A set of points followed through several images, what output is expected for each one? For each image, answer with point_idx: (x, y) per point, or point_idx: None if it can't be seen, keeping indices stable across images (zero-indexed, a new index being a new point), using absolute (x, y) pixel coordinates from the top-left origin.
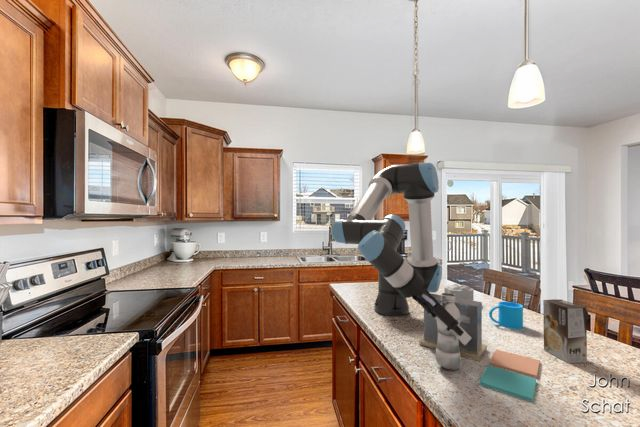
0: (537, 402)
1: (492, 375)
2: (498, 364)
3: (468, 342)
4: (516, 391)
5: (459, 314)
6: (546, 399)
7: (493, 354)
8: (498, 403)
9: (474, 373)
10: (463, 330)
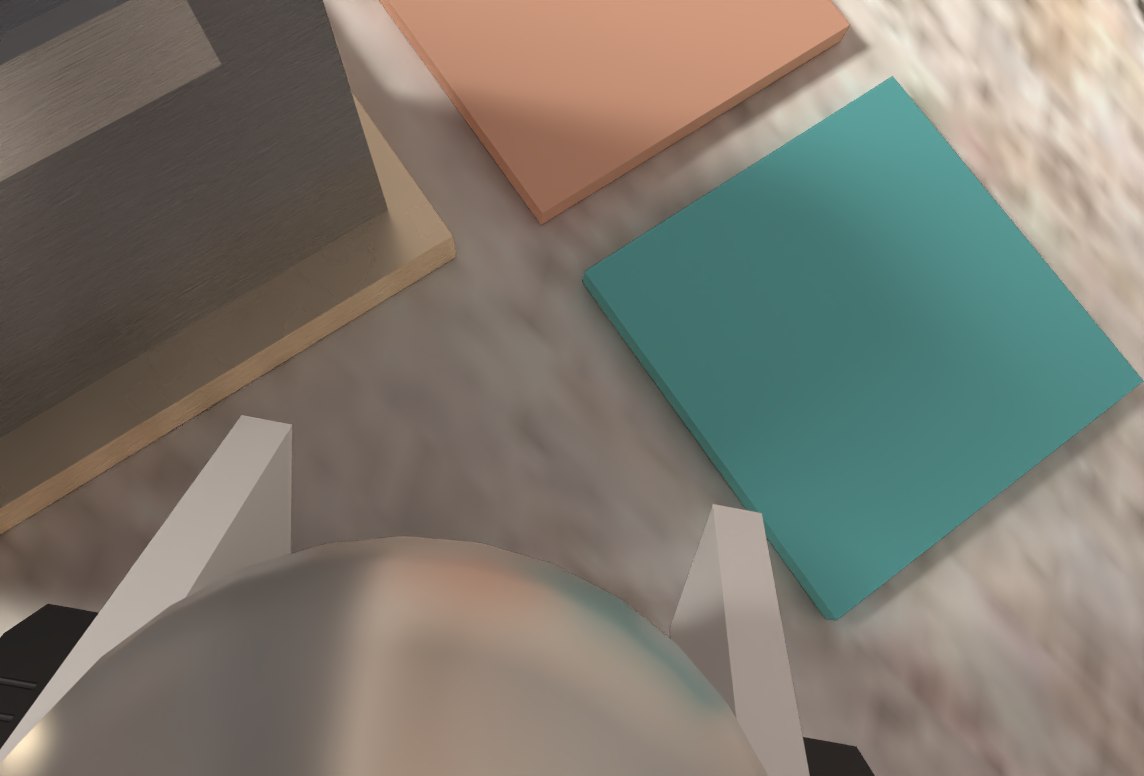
0: (1128, 352)
1: (769, 397)
2: (605, 165)
3: (279, 212)
4: (1036, 416)
5: (743, 749)
6: (1102, 249)
7: (417, 37)
8: (1104, 683)
9: (639, 496)
10: (783, 691)
